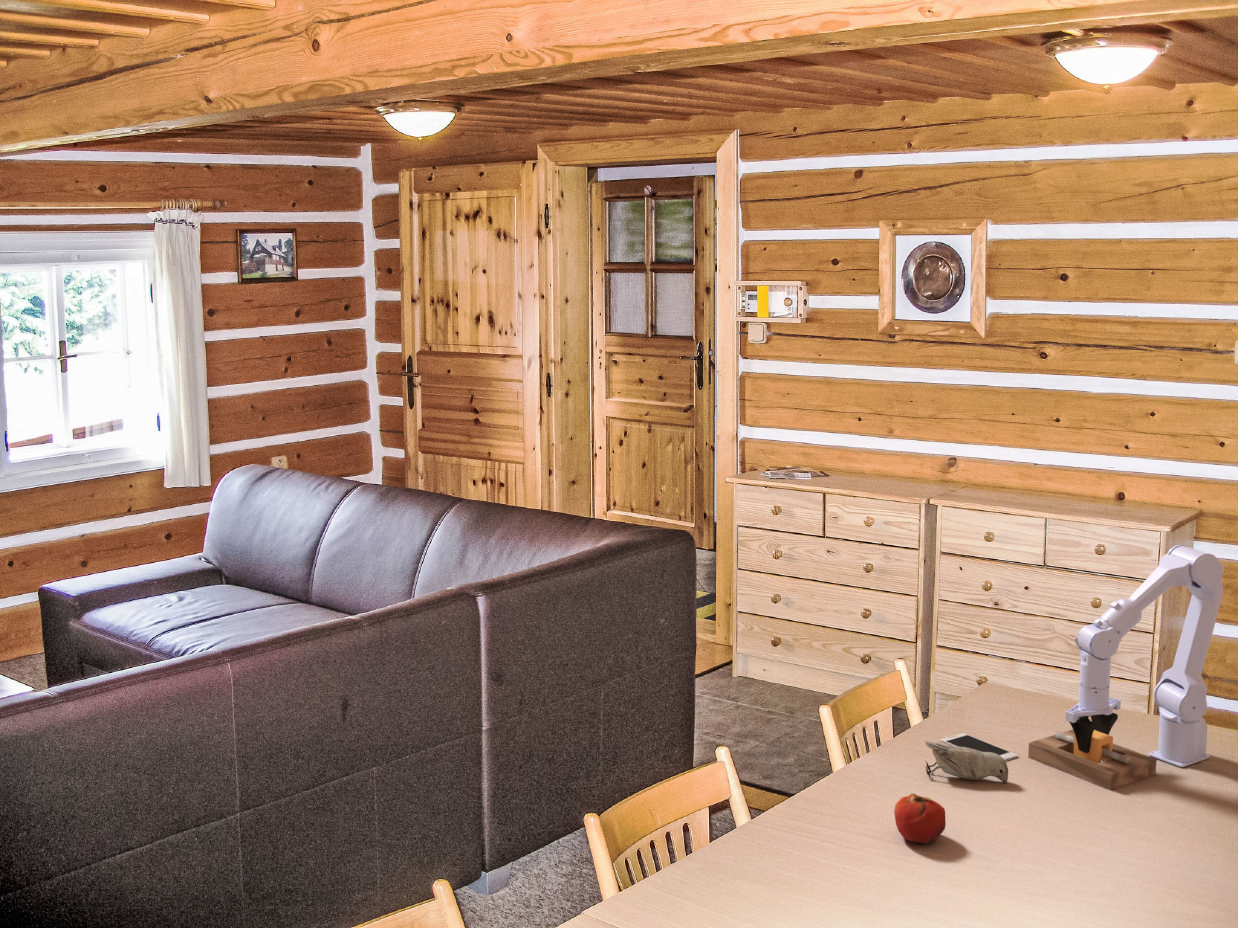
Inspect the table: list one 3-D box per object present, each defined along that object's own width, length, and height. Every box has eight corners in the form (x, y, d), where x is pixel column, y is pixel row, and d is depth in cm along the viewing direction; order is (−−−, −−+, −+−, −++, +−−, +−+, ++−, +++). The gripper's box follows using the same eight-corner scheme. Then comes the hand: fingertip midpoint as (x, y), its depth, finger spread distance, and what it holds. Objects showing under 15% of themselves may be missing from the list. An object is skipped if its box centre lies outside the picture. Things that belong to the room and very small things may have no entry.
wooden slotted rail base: (1073, 743, 268) (1074, 722, 267) (1155, 774, 251) (1156, 752, 250) (1028, 757, 261) (1029, 736, 260) (1110, 789, 244) (1111, 767, 243)
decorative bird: (1008, 789, 246) (1009, 752, 244) (923, 781, 250) (924, 745, 249) (1007, 778, 251) (1008, 742, 250) (924, 771, 255) (925, 736, 254)
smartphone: (994, 766, 257) (994, 761, 257) (939, 742, 271) (939, 738, 270) (1018, 758, 261) (1018, 754, 261) (962, 736, 274) (962, 732, 274)
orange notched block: (1087, 749, 259) (1088, 727, 258) (1111, 759, 254) (1112, 736, 253) (1073, 753, 257) (1074, 731, 256) (1098, 763, 252) (1099, 740, 251)
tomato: (911, 822, 231) (912, 781, 230) (955, 837, 224) (956, 795, 223) (882, 839, 224) (883, 796, 223) (927, 855, 218) (928, 811, 217)
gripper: (1087, 696, 246) (1084, 762, 248) (1134, 683, 254) (1131, 747, 256) (1058, 686, 252) (1055, 751, 254) (1105, 674, 260) (1102, 736, 262)
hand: (1091, 748), depth 255 cm, fingers closed on orange notched block, 4 cm apart
